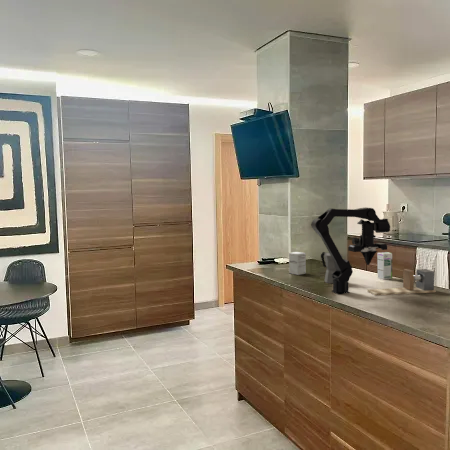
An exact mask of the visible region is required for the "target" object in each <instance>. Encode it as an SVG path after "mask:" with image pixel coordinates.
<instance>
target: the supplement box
mask: <svg viewBox="0 0 450 450" xmlns="http://www.w3.org/2000/svg"><path fill="white" fill-rule="evenodd" d="M306 260H307V255H306V252H302V251H292V252H288V273H289V274H292V275H295V276H296V275H297V276H299V275H304V274H307V272H306V270H307V269H306V268H307V267H306V265H307V263H306V262H307V261H306Z"/></svg>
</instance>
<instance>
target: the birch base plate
mask: <svg viewBox="0 0 450 450" xmlns="http://www.w3.org/2000/svg"><path fill="white" fill-rule="evenodd" d="M367 293H369V294H371V295H373V296H390V295H391V296H393V295H407V294H408V295H409V294H410V295H412V294H425V293H426V294H428V293H429V294H430V293H432V294H433V293H436V290H435V289H434V290H426V291H424V290H421V289H419V288H416V286H414V290H408V289H406V288H404V287H396V288H395V287H394V288H393V287H392V288H377V289H376V288H373V289H367Z"/></svg>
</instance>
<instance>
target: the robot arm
mask: <svg viewBox="0 0 450 450" xmlns="http://www.w3.org/2000/svg"><path fill="white" fill-rule="evenodd" d="M335 217H336V218H337V217H339V218H340V217H341V218H342V217H343V218H345V217H346V218H358V219H359V221H357V225H360V226H361V234H360V235H359V238H357V237H351V243H352V244H349V245H348V247H347V251H348V252H353V253H361V254H362V256H363V258H364V261H365V264H366V265H367V266H369V265H370V264H371V262H372V260H373V258H374V256H375V255H376V253H378V250H377V249H381V250H382V251H385V250H386V251H387V250H388V245H387V243H382V242H375V239H376V238H377V235H375V233H377V234H378V233H379V234H381V233H385V234H386V233H389V232H390V231H391V225H390V221H389V218H381V219H380V217H379V216H378V215H377V212H376V210H375V209H374V208H372V207H360V208H356V209H354V208H353V209H349V208H348V209H347V208H346V209H344V208H328V209H326V210H325V211H324V212H323V213H322V214H320V215H319V216H318V217H316V218H314V219H313V220H312V221H311V224H310V226H311V228H312V230H313V231H314V232H315V233H316V234H317V235H318V236H319V237H320V239H321V240H322V242H323V244H324V246H325V248H326V249H327V252H328V253H330V255H331V257H332V259H333V260H334V265H335V269H336V270H335V272H334V273H333V274H332V278H333V279H335V280H333V283H332V284H333V285H332V286H333V287H332V289H331V292H332V293H335V294H337V295H342V294H350V290H349V289H350V288H349V282H350V278H351V277H352V276H353V272H354V271H353V267H352V265H351V263H350V261H349V260H347V259H345V258H343V257H342V256H343V255H342V256H341V255H340V254H341V253H340V251H339V249H338V247H337V245H336V244H335V242H334V240H333V238H332V236H331V234H330V227H329V226H328V225H330V224H331V222H332V220H333V219H335Z"/></svg>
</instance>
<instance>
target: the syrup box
mask: <svg viewBox="0 0 450 450" xmlns="http://www.w3.org/2000/svg"><path fill="white" fill-rule="evenodd" d="M376 253H377V278H378V279H380V280H391V279H393V253H392V252H388V251H385V252H383V251H382V252H376Z"/></svg>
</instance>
